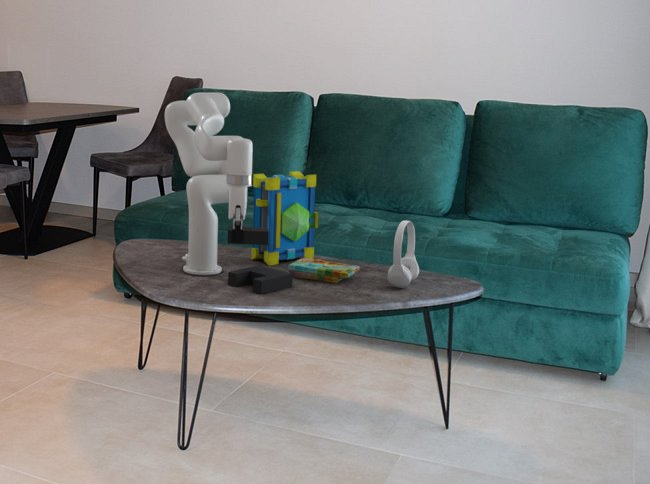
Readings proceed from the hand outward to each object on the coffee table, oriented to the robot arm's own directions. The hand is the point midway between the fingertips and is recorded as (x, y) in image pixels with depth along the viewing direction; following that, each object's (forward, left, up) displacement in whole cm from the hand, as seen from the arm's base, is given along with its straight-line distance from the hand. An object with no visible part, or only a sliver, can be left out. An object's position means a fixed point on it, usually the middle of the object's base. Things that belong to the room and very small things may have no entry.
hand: (237, 239), depth 243 cm
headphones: (+27, +46, -16) cm, 56 cm away
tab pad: (+2, +2, -1) cm, 3 cm away
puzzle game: (+6, +33, -16) cm, 37 cm away
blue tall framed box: (-19, +41, -16) cm, 48 cm away
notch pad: (0, +10, -15) cm, 19 cm away
